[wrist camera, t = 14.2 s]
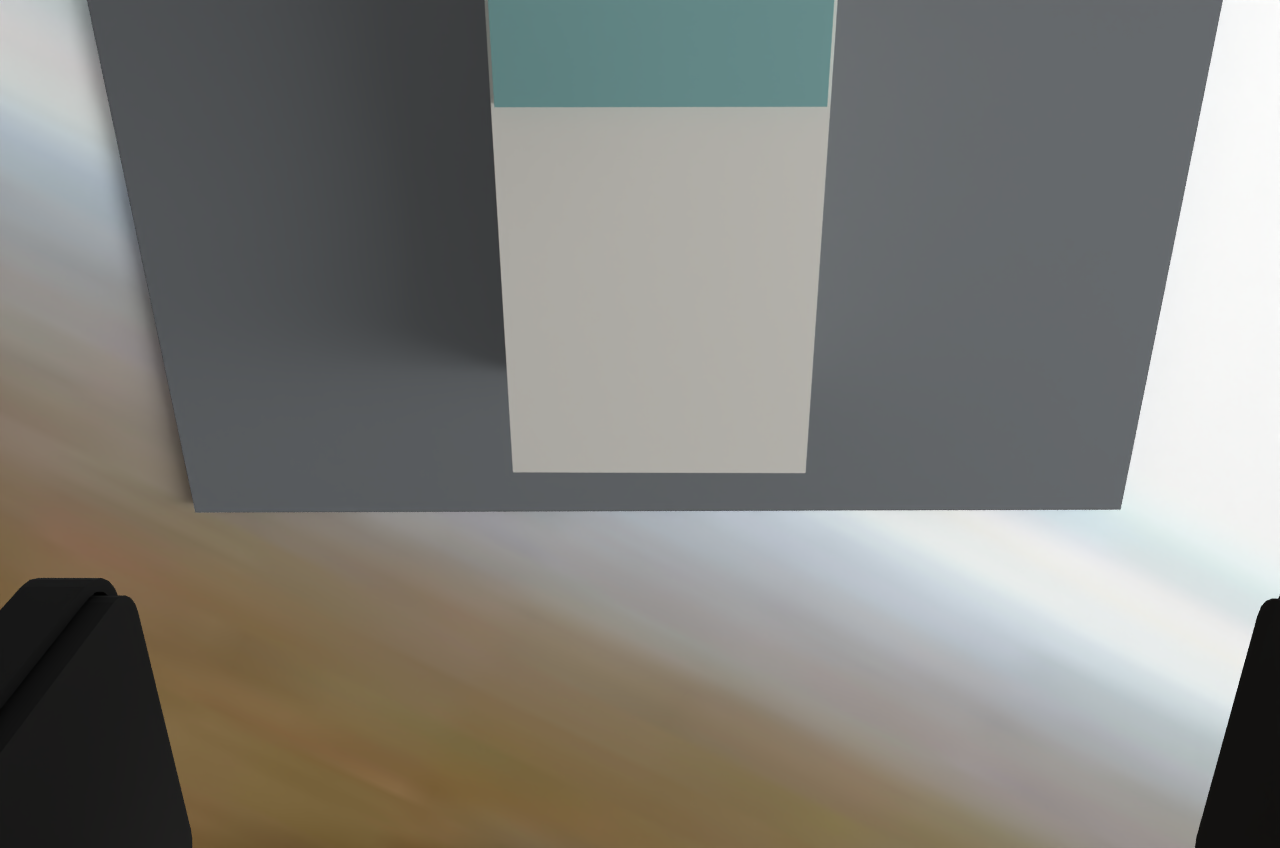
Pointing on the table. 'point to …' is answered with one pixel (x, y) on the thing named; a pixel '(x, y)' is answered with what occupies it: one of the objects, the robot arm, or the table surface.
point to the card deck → (660, 229)
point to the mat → (471, 273)
